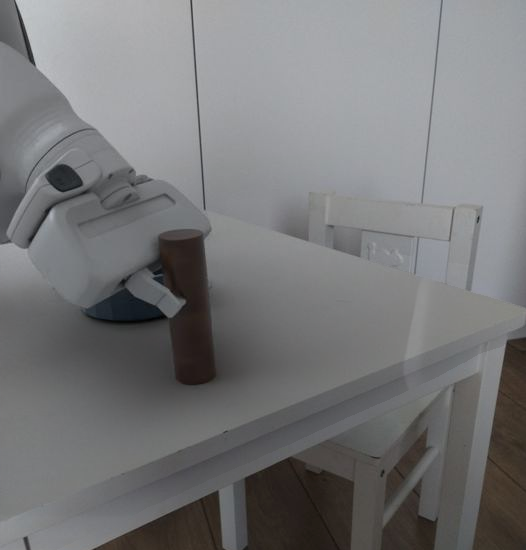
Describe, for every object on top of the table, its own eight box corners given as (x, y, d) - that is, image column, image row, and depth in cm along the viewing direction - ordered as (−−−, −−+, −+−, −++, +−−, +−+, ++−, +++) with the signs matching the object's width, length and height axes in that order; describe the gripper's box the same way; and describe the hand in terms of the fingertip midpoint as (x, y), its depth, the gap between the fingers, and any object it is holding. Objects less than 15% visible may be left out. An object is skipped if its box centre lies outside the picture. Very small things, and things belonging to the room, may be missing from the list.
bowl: (63, 325, 69) (54, 282, 67) (102, 285, 83) (96, 248, 81) (186, 323, 68) (181, 279, 66) (205, 282, 82) (202, 245, 80)
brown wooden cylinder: (171, 385, 54) (152, 240, 48) (179, 366, 58) (163, 229, 52) (213, 384, 54) (199, 238, 48) (218, 365, 58) (206, 228, 52)
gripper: (134, 194, 62) (222, 286, 63) (-10, 241, 45) (112, 367, 46) (165, 150, 59) (257, 248, 59) (21, 184, 42) (153, 321, 42)
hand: (193, 301), depth 52 cm, fingers closed on brown wooden cylinder, 4 cm apart
